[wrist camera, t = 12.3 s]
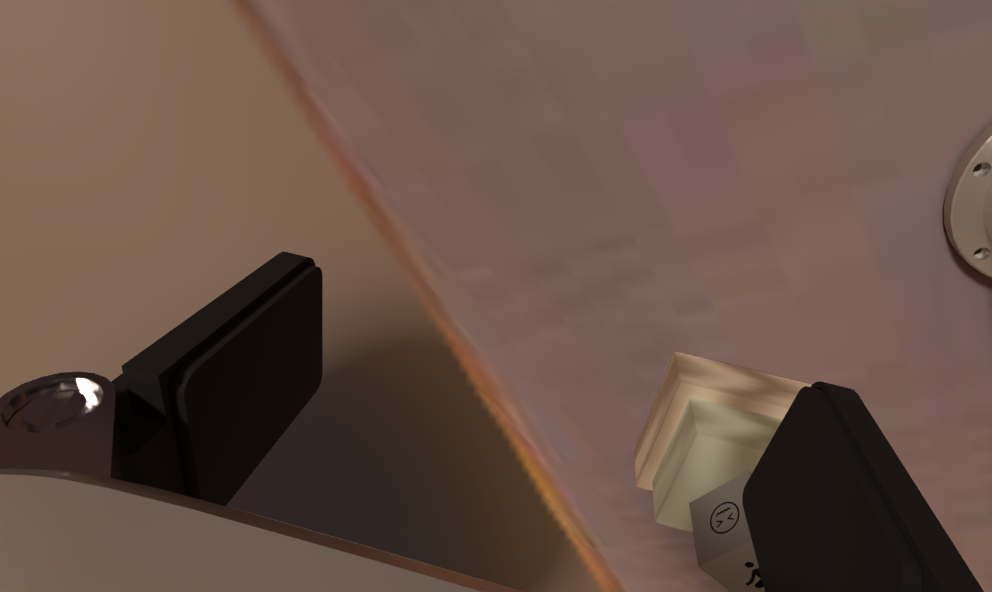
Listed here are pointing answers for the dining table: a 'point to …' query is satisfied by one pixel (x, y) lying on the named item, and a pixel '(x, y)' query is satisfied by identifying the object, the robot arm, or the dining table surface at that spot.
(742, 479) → the dice cube
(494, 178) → the dining table surface
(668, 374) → the cream layered block
